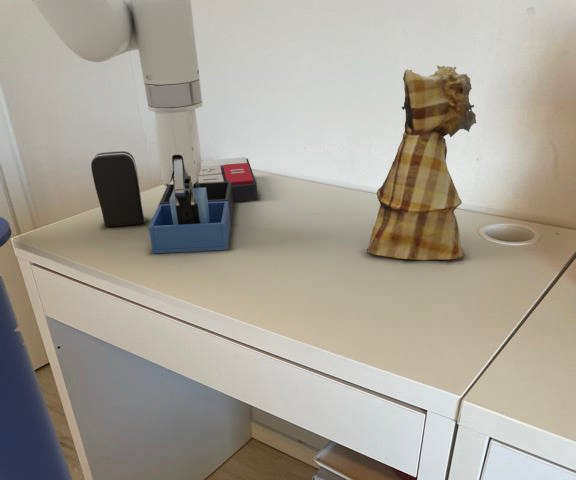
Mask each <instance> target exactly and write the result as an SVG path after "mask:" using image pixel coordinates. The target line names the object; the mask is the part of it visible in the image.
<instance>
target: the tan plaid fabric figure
mask: <svg viewBox="0 0 576 480" xmlns="http://www.w3.org/2000/svg"><path fill="white" fill-rule="evenodd" d="M436 68H437V70H435V72H434V73H433V74H430V75H428V76H427V75H426V76H424V75H421V74H419V73H416V72H413V69H409V68H408V69H405V70H404V73H403V77H402V81H403V85H404V87H403V88H404V102H403V106H401V109H402V111H403V110H404V111H405V120H404V132H403V133H402V139H401V141H400V143H399V145H398V148H397V151H396V154H395V157H394V160H393V161H392V163H391V166H390V168H389V170H388V173H387V175H386V178H385V180H384V181H383V183H382V185H381V186H380V187H379V188H378V189H377V191H376V197H377V200H378V202H379V204H380V206H379V208H378V213H377V216H376V220H375V223H374V225H373V228H372V233H371V236H370V239H369V245H368V248H366V253H367V254H372V255H375V256H383V257H389V258H396V259H404V260H417V261H428V260H454V259H455V260H456V259H459V258H462V257H463V256H465V251H464V249H463V248H462V243H461V242H462V241H461V233H460V229H459V223H458V220H457V216H456V215H455V212H454V211H455V210H457V208H458V207H459V206H461V205H462V204H463V202H462V198H460V196H459V193H458V191H457V188H456V186H455V183H454V180H453V179H452V176H451V174H450V172H449V169H448V168H449V167H448V164H447V153H448V147H447V142H446V138H445V137H446V136H449V137H450V138H452V137H453V136H454V135H455V134H456V133H458V132H459V130H464V131H467V132H468V133H470V130H471V128H472V127H473V125H474V124H477V119H476V117H477V116H476V114H475V112H474V111H473V109H472V108H475V104H471V103H470V97H469V96H470V92H471V90H472V89H473V88H472V84H471V77H470V76H468V74H467V73H457V72H456V69H457V67H456V66H454V67H453V66H448V65H446V66H445V65H442V66H439V65H438V64H437V65H436Z"/></svg>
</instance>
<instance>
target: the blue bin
mask: <svg viewBox="0 0 576 480" xmlns="http://www.w3.org/2000/svg"><path fill="white" fill-rule="evenodd" d="M208 207H209V216H210V220H209V223H202V224H181V225H173V219H172V213H171V206H170V204H163V205H162V204H159V203H158V206H157V208H156V210H155V212H154V213H153V216H152V219H151V221H150V223H149V225H148V233H149V238H150V243H151V249H152V254H171V253H172V254H173V253H192V252H211V251H213V252H215V251H227V250H228V248H229V242H230V235H231V234H230V233H231V227H232V222H231V223H230V213H229V202H228V201H219V202H208Z"/></svg>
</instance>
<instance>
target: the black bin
mask: <svg viewBox="0 0 576 480" xmlns="http://www.w3.org/2000/svg"><path fill="white" fill-rule="evenodd" d="M199 185H200V188H204V187H206V191H207V199H208V202H219V201H228V202H229V213H230V223H231V224H232V220H233V219H232V218H233V212H234V204H235V202H233V191H232V181H227V182H207V183H199ZM173 190H174V184H173V183H170V184H169V185H168V186H166V188H165V190H164V192H163V194H162V196H161V199H160V201H159V203H158V205H159V204H162V205H163V204H170V200H169V199H170V197H171V195H172V192H173Z"/></svg>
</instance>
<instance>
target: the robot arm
mask: <svg viewBox="0 0 576 480" xmlns="http://www.w3.org/2000/svg"><path fill="white" fill-rule="evenodd" d="M31 1H32V2H33V4H34V5H35V7H36V8H37V10H38V11H39V13H40V14H41V15H42V16H43V18H44V19H45V20H46V22H47V23H48V24H49V26H50V27H51V28H52V30H53V31H54V33H55V34H56V35H57V37H58V38H59V39H60V40H61V41H62V43H63V44H64V45H65V46H66V47H67V48H68V49H69V50H70V51H71V52H73V53H74V54H75V55H76V56H78V57H80V58H81V59H83V60H85V61H87V62H92V63H102V62H106V61H109V60H111V59H113V58H115V57H117V56H121V55H123V54H125V53H128V52H129V53H130V52H132V51H138V54H139V61H140V68H141V73H142V80H143V85H144V91H145V98H146V103H147V110H148V111H149V112H154V122H155V136H156V144H157V151H158V159H159V167H160V176H161V182H162V185H163V186H165V187H167V186H168V185H169V184H174V193H175V203H176V213H177V219H178V225H181V224H200V219H199V211H198V204H195V194H194V188H200V185H199V179H198V177H199V174H200V170H201V161H202V157H201V156H202V155H201V144H200V134H199V127H198V120H197V113H196V110H197V109H199V108H201V107H203V106H204V104H203V103H204V102H203V95H202V87H201V79H200V70H199V61H198V54H197V53H198V52H197V44H196V35H195V25H194V19H193V18H194V17H193V10H192V4H191V2H192V1H191V0H31ZM186 188H189V190H190V193H189V191H188V190H186Z"/></svg>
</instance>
